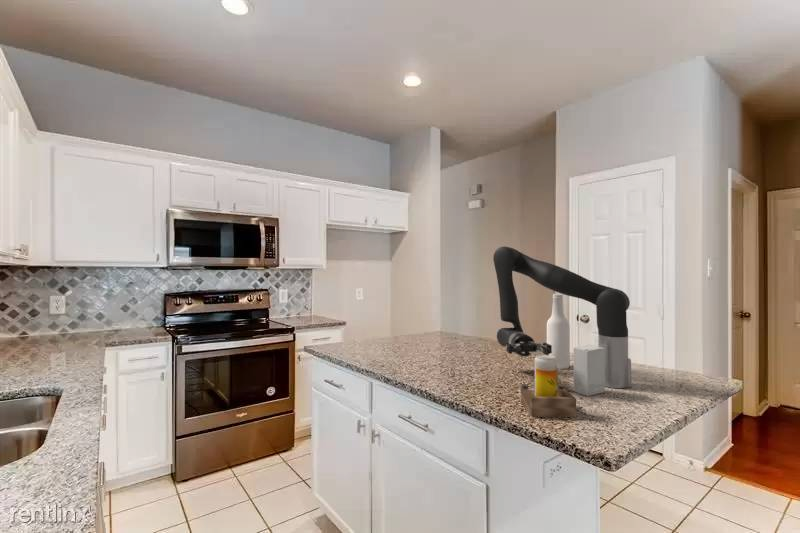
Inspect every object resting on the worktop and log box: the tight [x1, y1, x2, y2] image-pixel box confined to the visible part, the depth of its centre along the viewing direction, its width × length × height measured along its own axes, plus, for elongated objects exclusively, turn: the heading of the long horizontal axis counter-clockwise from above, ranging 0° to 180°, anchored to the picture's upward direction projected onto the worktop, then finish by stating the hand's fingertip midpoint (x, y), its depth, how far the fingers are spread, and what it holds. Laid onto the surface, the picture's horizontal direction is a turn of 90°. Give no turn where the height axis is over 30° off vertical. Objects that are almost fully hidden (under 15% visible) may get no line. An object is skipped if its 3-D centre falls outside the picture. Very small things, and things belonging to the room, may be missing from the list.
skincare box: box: [573, 344, 606, 397], centre depth 134 cm, size 8×6×15 cm
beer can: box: [534, 354, 558, 397], centre depth 119 cm, size 6×6×15 cm
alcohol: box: [546, 293, 571, 370], centre depth 169 cm, size 9×9×30 cm
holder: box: [520, 383, 577, 418], centre depth 118 cm, size 12×12×6 cm
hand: (534, 352), depth 131 cm, fingers open, 8 cm apart
